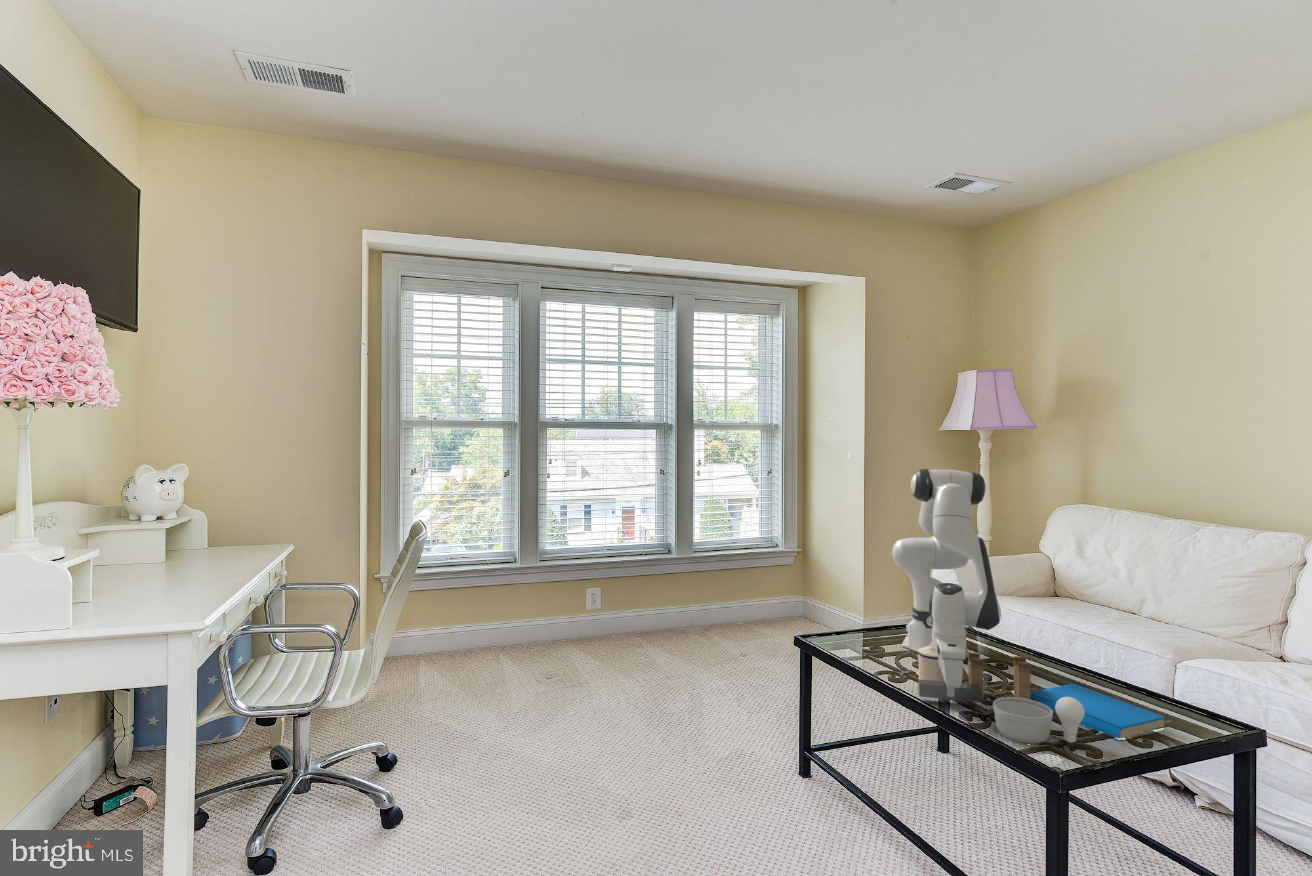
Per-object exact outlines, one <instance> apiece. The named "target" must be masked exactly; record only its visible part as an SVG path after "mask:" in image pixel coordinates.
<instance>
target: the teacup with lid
mask: <svg viewBox="0 0 1312 876" xmlns="http://www.w3.org/2000/svg"><path fill="white" fill-rule="evenodd" d="M917 662H918V679H921V680H931V681H942V682H944V677H943V674H942V672H941V669H940V666H939V662H938V655H937V651H936V650H934V649H933V648H932V643H931V644H930V646H927V647H923V648H920V649H919V650H918V652H917Z"/></svg>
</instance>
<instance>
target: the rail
mask: <svg viewBox="0 0 1312 876" xmlns="http://www.w3.org/2000/svg"><path fill="white" fill-rule="evenodd" d="M917 682H918V683H917V684H918V685H917V686H918V687H917V689H918V690H917V691H918V696H919V697H920V698H928V699H929V698H930V699H941V700H951V701H960V702H961V701H963V702H972V703H979V704H980V703H982V702H983V700H982V689H981V687H980V685H975V684H968V683H964V682H963V683H962V684H961V687H960V688H955V690H954V697H949V696H947V686H946V683H945V682H942V681H931V680H921V679H919V678H918V680H917Z"/></svg>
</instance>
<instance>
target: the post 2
mask: <svg viewBox="0 0 1312 876" xmlns="http://www.w3.org/2000/svg"><path fill="white" fill-rule="evenodd" d="M1031 671H1032V669H1031V663H1030V662H1027V658H1026V656H1018V655H1013V697H1017V698H1024V699H1029V700H1031V692H1032V691H1031V689H1032V688H1031V687H1032V685H1031V684H1032V683H1031V682H1032V681H1031V680H1032V679H1031V676H1032V675H1031V674H1032V673H1031Z"/></svg>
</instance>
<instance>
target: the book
mask: <svg viewBox="0 0 1312 876" xmlns="http://www.w3.org/2000/svg"><path fill="white" fill-rule="evenodd" d="M1062 697H1072V698H1075V699H1077V700H1078V701H1079V702H1080V703H1081V704H1082V706H1083V707H1084V711H1085V715H1084V718H1083V719H1082V721H1081V722H1080V724H1081V725H1080V724H1079V725H1080V726H1083V725H1085V726H1087V727H1090V728H1093V729H1095V730H1097V731H1101V732H1103V733H1106V734H1108V735H1113V736H1114V737H1117V738H1123V737H1128V736H1131V735H1135V734H1137V733H1140V732H1143V731H1148V730H1151V729H1156V728H1158V727H1163V726H1164V727H1165V718H1166V717H1165V716H1164V715H1162V714H1159V713H1155V712H1153V711H1150V710H1147V709H1145V708H1142V707H1139V706H1136V705H1134V704H1131V703H1128V702H1125V701H1123V700H1120V699H1117V698H1113V697H1111V696H1109V695H1105V694H1103V693H1101V692H1097V691H1095V690H1092V689H1090V688H1087V687H1083V686H1081V685H1078V684H1075V683H1069V684H1063V685H1059V686H1053V687H1048V688H1043V689H1038V690H1034V691H1031V700H1033V701H1036V702H1039V703H1042V704H1044V705H1046V706H1048V707H1049V708H1050V709H1051V710H1052V712H1053V715H1056V716H1058V715H1057V713H1056V710H1055V705H1056V702H1057V701H1058V700H1059V699H1060V698H1062ZM1085 726H1084V727H1085ZM1087 727H1086V728H1087ZM1090 728H1089V729H1090ZM1095 730H1094V731H1095ZM1097 731H1096V732H1097Z"/></svg>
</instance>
